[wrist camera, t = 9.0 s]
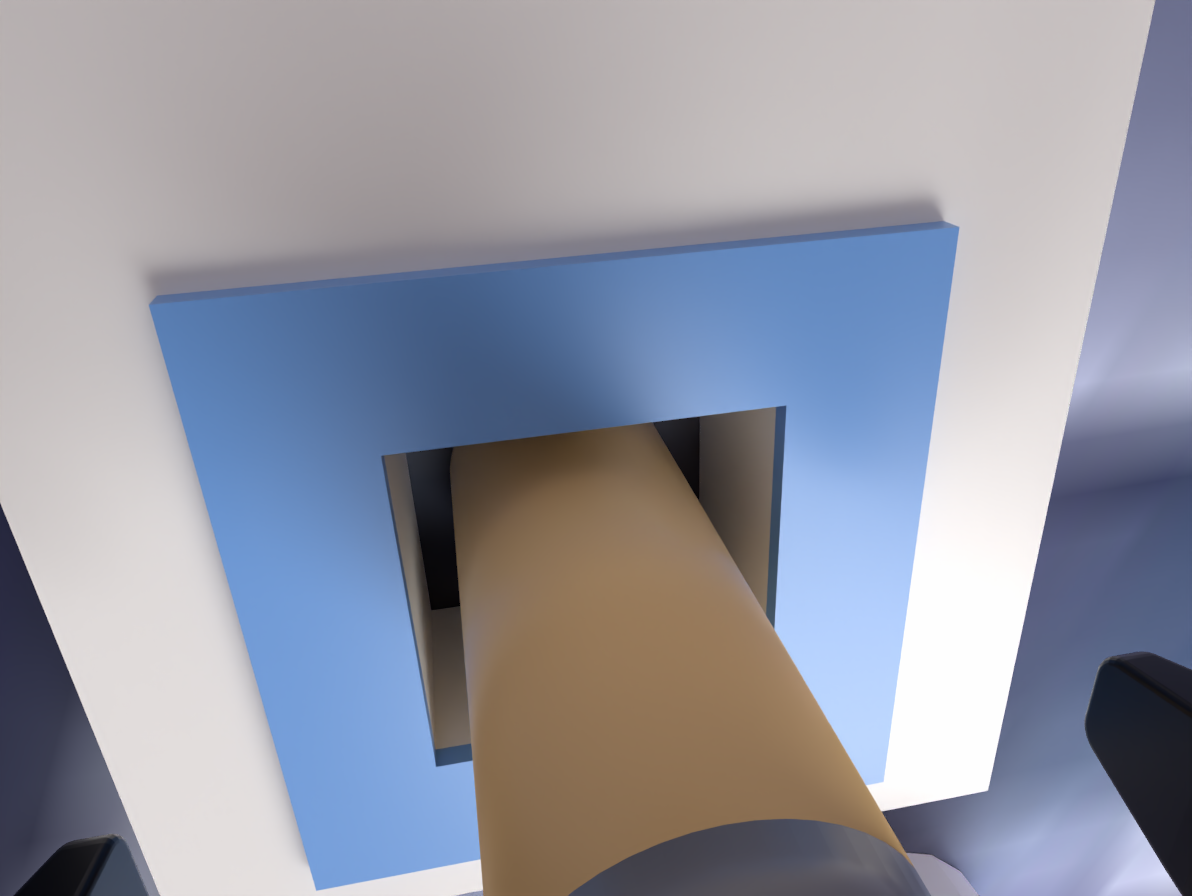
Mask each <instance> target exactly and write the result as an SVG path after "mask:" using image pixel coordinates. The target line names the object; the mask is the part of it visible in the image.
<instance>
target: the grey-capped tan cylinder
mask: <svg viewBox="0 0 1192 896" xmlns="http://www.w3.org/2000/svg"><path fill="white" fill-rule="evenodd" d="M450 482H451V495H452V507H453V520H454V532H455V545H456V557H457V570H458V582H459V595H460V608H461V620H462V633H463V645H464V658H465V670H466V683H467V695H468V708H469V721H470V733H471V746H472V758H473V771H474V783H475V796H476V808H477V821H478V834H479V846H480V859H481V871H482V884H483V896H931V895H930V893H929V891H928V890H927V888H926V886H925V885H924V883H923V881H922V879H921V878H920V876H919V874H918V873H917V871H916V869H915V868H914V866H913V864H912V863H911V861H910V859H909V857H908V856H907V854H906V852H905V851H904V849H903V847H902V846H901V844H900V842H899V840H898V839H897V837H896V835H895V834H894V832H893V830H892V829H891V827H890V825H889V823H888V822H887V820H886V818H885V817H884V815H883V813H882V812H881V810H880V808H879V806H878V805H877V803H876V801H875V800H874V798H873V796H872V795H871V793H870V791H869V789H868V788H867V786H866V784H865V783H864V781H863V779H862V778H861V776H860V774H859V772H858V771H857V769H856V767H855V766H854V764H853V762H852V761H851V759H850V757H849V755H848V754H847V752H846V750H845V749H844V747H843V745H842V744H841V742H840V740H839V739H838V737H837V735H836V733H835V732H834V730H833V728H832V727H831V725H830V723H829V722H828V720H827V718H826V716H825V715H824V713H823V711H822V710H821V708H820V706H819V705H818V703H817V701H816V699H815V698H814V696H813V694H812V693H811V691H810V689H809V688H808V686H807V684H806V682H805V681H804V679H803V677H802V676H801V674H800V672H799V671H798V669H797V667H796V665H795V664H794V662H793V660H792V659H791V657H790V655H789V654H788V652H787V650H786V648H785V647H784V645H783V643H782V642H781V640H780V638H779V637H778V635H777V633H776V631H775V630H774V628H773V626H772V625H771V623H770V621H769V620H768V618H767V616H766V615H765V613H764V611H763V609H762V608H761V606H760V604H759V603H758V601H757V599H756V598H755V596H754V594H753V592H752V591H751V589H750V587H749V586H748V584H747V582H746V581H745V579H744V577H743V575H742V574H741V572H740V570H739V569H738V567H737V565H736V564H735V562H734V560H733V558H732V557H731V555H730V553H729V552H728V550H727V548H726V547H725V545H724V543H723V541H722V540H721V538H720V536H719V535H718V533H717V531H716V530H715V528H714V526H713V524H712V523H711V521H710V519H709V518H708V516H707V514H706V513H705V511H704V509H703V507H702V506H701V504H700V502H699V501H698V499H697V497H696V496H695V494H694V492H693V491H692V489H691V487H690V485H689V484H688V482H687V480H686V479H685V477H684V475H683V474H682V472H681V470H680V468H679V467H678V465H677V463H676V462H675V460H674V458H673V457H672V455H671V453H670V451H669V450H668V448H667V446H666V445H665V443H664V441H663V440H662V438H661V436H660V434H659V433H658V431H657V429H656V428H655V426H654V424H653V423H652V422H649V423H641V424H633V425H625V426H617V427H609V428H601V429H593V430H585V431H577V432H569V433H561V434H552V435H544V436H536V437H528V438H520V439H512V440H504V441H496V442H488V443H480V444H472V445H464V446H456V447H453V451H452V455H451V462H450Z"/></svg>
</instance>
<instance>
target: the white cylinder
mask: <svg viewBox="0 0 1192 896" xmlns="http://www.w3.org/2000/svg"><path fill="white" fill-rule="evenodd" d="M906 854H907V856H908V857H909V859H910V861H911V863H912V864H913V866H914V868H915V869H916V871H917V873H918V874H919V876H920V878H921V879H922V881H923V883H924V885H925V886H926V888H927V890H928V891H929V893H930V895H931V896H979V895H978V893H977V892H976V891H975V890H974V888H973V887H972V886H971V884H970V883H969V882H968V881H967V879H966V878H965V877H964V875H963V874H962V873H961V871H959V870H957V869H956V868H954V867H952V866H950V865H948V864H947V863H945V862H943V861H941V860H940V859H938V858H936V857H934V856H933V855H928V854H915V853H906Z"/></svg>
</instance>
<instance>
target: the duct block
mask: <svg viewBox="0 0 1192 896" xmlns="http://www.w3.org/2000/svg"><path fill="white" fill-rule="evenodd" d="M1154 4H1155V0H0V503H1V506H2V508H3V511H4V513H5V516H6V518H7V521H8V523H9V525H10V528H11V530H12V533H13V535H14V538H15V540H16V543H17V545H18V548H19V550H20V552H21V555H22V557H23V560H24V562H25V565H26V567H27V570H28V572H29V575H30V577H31V579H32V582H33V584H34V587H35V589H36V592H37V594H38V597H39V599H40V602H41V604H42V606H43V609H44V611H45V614H46V616H47V619H48V621H49V624H50V626H51V629H52V631H53V634H54V636H55V638H56V641H57V643H58V646H59V648H60V651H61V653H62V656H63V658H64V661H65V663H66V665H67V668H68V670H69V673H70V675H71V678H72V680H73V683H74V685H75V688H76V690H77V692H78V695H79V697H80V700H81V702H82V705H83V707H84V710H85V712H86V715H87V717H88V719H89V722H90V724H91V727H92V729H93V732H94V734H95V737H96V739H97V742H98V744H99V746H100V749H101V751H102V754H103V756H104V759H105V761H106V764H107V766H108V769H109V771H110V773H111V776H112V778H113V781H114V783H115V786H116V788H117V791H118V793H119V796H120V798H121V801H122V803H123V805H124V808H125V810H126V813H127V815H128V818H129V820H130V823H131V825H132V828H133V830H134V832H135V835H136V837H137V840H138V842H139V845H140V847H141V850H142V852H143V855H144V857H145V859H146V862H147V864H148V867H149V869H150V872H151V874H152V877H153V879H154V882H155V884H156V886H157V889H158V891H159V894H160V896H455V895H460V894H465V893H470V892H475V891H480V890H483V884H482V871H481V859H480V846H479V834H478V821H477V808H476V796H475V783H474V771H473V758H472V746H471V733H470V721H469V708H468V695H467V683H466V670H465V658H464V645H463V633H462V620H461V608H460V606H457V607H451V608H444V609H437V610H431V605H430V599H429V593H428V587H427V581H426V574H425V568H424V562H423V556H422V550H421V544H420V538H419V531H418V525H417V519H416V513H415V507H414V501H413V495H412V489H411V482H410V476H409V470H408V464H407V458H406V453H407V452H415V451H423V450H431V449H439V448H447V447H456V446H464V445H472V444H480V443H488V442H496V441H504V440H512V439H520V438H528V437H536V436H544V435H552V434H561V433H569V432H577V431H585V430H593V429H601V428H609V427H617V426H625V425H633V424H641V423H649V422H657V421H665V420H674V419H682V418H690V417H698V416H700V448H699V502H700V504H701V506H702V507H703V509H704V511H705V513H706V514H707V516H708V518H709V519H710V521H711V523H712V524H713V526H714V528H715V530H716V531H717V533H718V535H719V536H720V538H721V540H722V541H723V543H724V545H725V547H726V548H727V550H728V552H729V553H730V555H731V557H732V558H733V560H734V562H735V564H736V565H737V567H738V569H739V570H740V572H741V574H742V575H743V577H744V579H745V581H746V582H747V584H748V586H749V587H750V589H751V591H752V592H753V594H754V596H755V598H756V599H757V601H758V603H759V604H760V606H761V608H762V609H763V611H764V613H765V615H766V616H767V618H768V620H769V621H770V623H771V625H772V626H773V628H774V630H775V631H776V633H777V635H778V637H779V638H780V640H781V642H782V643H783V645H784V647H785V648H786V650H787V652H788V654H789V655H790V657H791V659H792V660H793V662H794V664H795V665H796V667H797V669H798V671H799V672H800V674H801V676H802V677H803V679H804V681H805V682H806V684H807V686H808V688H809V689H810V691H811V693H812V694H813V696H814V698H815V699H816V701H817V703H818V705H819V706H820V708H821V710H822V711H823V713H824V715H825V716H826V718H827V720H828V722H829V723H830V725H831V727H832V728H833V730H834V732H835V733H836V735H837V737H838V739H839V740H840V742H841V744H842V745H843V747H844V749H845V750H846V752H847V754H848V755H849V757H850V759H851V761H852V762H853V764H854V766H855V767H856V769H857V771H858V772H859V774H860V776H861V778H862V779H863V781H864V783H865V784H866V786H867V788H868V789H869V791H870V793H871V795H872V796H873V798H874V800H875V801H876V803H877V805H878V806H879V808H880V810H881V812H882V811H887V810H892V809H897V808H902V807H907V806H912V805H917V804H922V803H927V802H933V801H938V800H943V799H948V798H953V797H958V796H963V795H968V794H973V793H978V792H983V791H988V787H989V783H990V778H991V773H992V768H993V764H994V759H995V754H996V749H997V745H998V740H999V735H1000V731H1001V726H1002V721H1003V716H1004V712H1005V707H1006V702H1007V698H1008V693H1009V688H1010V683H1011V679H1012V674H1013V669H1014V665H1015V660H1016V655H1017V650H1018V646H1019V641H1020V636H1021V631H1022V627H1023V622H1024V617H1025V613H1026V608H1027V603H1028V598H1029V594H1030V589H1031V584H1032V580H1033V575H1034V570H1035V565H1036V561H1037V556H1038V551H1039V546H1040V542H1041V537H1042V532H1043V528H1044V523H1045V518H1046V513H1047V509H1048V504H1049V499H1050V495H1051V490H1052V485H1053V480H1054V476H1055V471H1056V466H1057V462H1058V457H1059V452H1060V447H1061V443H1062V438H1063V433H1064V428H1065V424H1066V419H1067V414H1068V410H1069V405H1070V400H1071V395H1072V391H1073V386H1074V381H1075V377H1076V372H1077V367H1078V362H1079V358H1080V353H1081V348H1082V344H1083V339H1084V334H1085V329H1086V325H1087V320H1088V315H1089V310H1090V306H1091V301H1092V296H1093V292H1094V287H1095V282H1096V277H1097V273H1098V268H1099V263H1100V259H1101V254H1102V249H1103V244H1104V240H1105V235H1106V230H1107V225H1108V221H1109V216H1110V211H1111V207H1112V202H1113V197H1114V192H1115V188H1116V183H1117V178H1118V174H1119V169H1120V164H1121V159H1122V155H1123V150H1124V145H1125V141H1126V136H1127V131H1128V126H1129V122H1130V117H1131V112H1132V107H1133V103H1134V98H1135V93H1136V89H1137V84H1138V79H1139V74H1140V70H1141V65H1142V60H1143V56H1144V51H1145V46H1146V41H1147V37H1148V32H1149V27H1150V23H1151V18H1152V13H1153V8H1154Z"/></svg>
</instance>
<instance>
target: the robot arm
mask: <svg viewBox="0 0 1192 896" xmlns="http://www.w3.org/2000/svg"><path fill="white" fill-rule="evenodd" d="M1085 731H1086V736H1087V738H1088V741H1089V744H1090V746H1091V748H1092V749H1093V751H1094V753H1095V754H1096V756H1097V758H1098V759H1099V761H1100V763H1101V764H1102V766H1103V768H1104V769H1105V771H1106V773H1107V774H1108V776H1109V777H1110V779H1111V781H1112V782H1113V784H1114V786H1115V787H1116V789H1117V791H1118V792H1119V794H1120V796H1121V797H1122V799H1123V801H1124V802H1125V804H1126V806H1127V807H1128V809H1129V810H1130V812H1131V814H1132V815H1133V817H1134V819H1135V820H1136V822H1137V824H1138V825H1139V827H1140V829H1141V830H1142V832H1143V834H1144V835H1145V837H1146V838H1147V840H1148V842H1149V843H1150V845H1151V847H1152V848H1153V850H1154V852H1155V853H1156V855H1157V857H1158V858H1159V860H1160V862H1161V863H1162V865H1163V866H1164V868H1165V870H1166V871H1167V873H1168V874H1169V876H1170V877H1171V879H1172V881H1173V882H1174V884H1175V885H1176V887H1177V888H1178V890H1179V891H1180V893H1181V894H1182V896H1192V670H1191V669H1189V668H1186V667H1184V666H1182V665H1179V664H1177V663H1175V662H1172V661H1170V660H1167V659H1165V658H1163V657H1160V656H1158V655H1156V654H1153V653H1149V652H1134V653H1129V654H1123V655H1117V656H1112V657H1109V658H1106V659H1105V660H1104V661H1103V662H1102V663H1101V664H1100V666H1099V668H1098V671H1097V674H1096V678H1095V682H1094V686H1093V689H1092V693H1091V697H1090V701H1089V704H1088V708H1087V712H1086V716H1085ZM14 896H149V895H148V892H147V890H146V887H145V885H144V882H143V880H142V878H141V875H140V873H139V870H138V868H137V865H136V863H135V861H134V858H133V856H132V853H131V851H130V849H129V846H128V844H127V843H126V841H125V839H124V838H122V837H121V836H120V835H118V834H108V835H102V836H97V837H91V838H85V839H80V840H74V841H71V842H69V843H66V844H65V845H63V846H62V847H61V848H59V849H58V850H57V851H56V852H55V853H54V854H53V855H52V856H51V857H50V858H49V859H48V860H47V861H46V862H45V863H44V864H43V865H42V866H41V867H40V868H39V870H38V871H37V872H36V873H35V874H34V875H33V876H32V877H31V878H30V879H29V880H28V881H27V882H26V883H25V884H24V885H23V886H22V887H21V888H20V889H19V890H18V891H17V892H16V894H15V895H14Z"/></svg>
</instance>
